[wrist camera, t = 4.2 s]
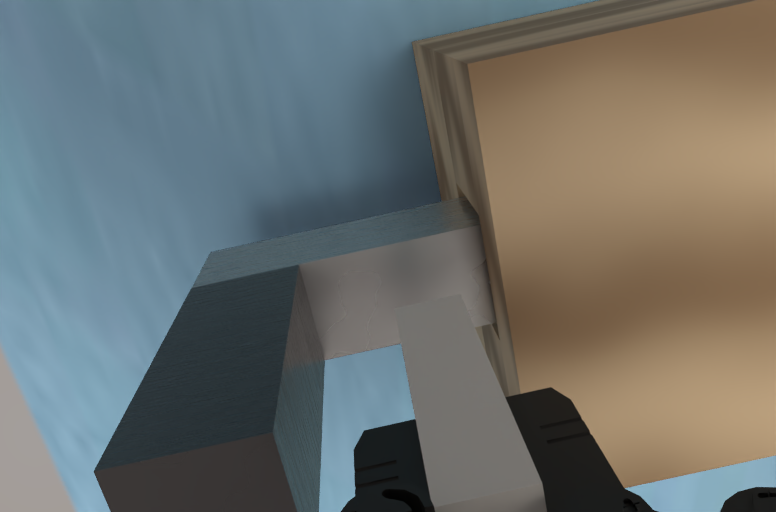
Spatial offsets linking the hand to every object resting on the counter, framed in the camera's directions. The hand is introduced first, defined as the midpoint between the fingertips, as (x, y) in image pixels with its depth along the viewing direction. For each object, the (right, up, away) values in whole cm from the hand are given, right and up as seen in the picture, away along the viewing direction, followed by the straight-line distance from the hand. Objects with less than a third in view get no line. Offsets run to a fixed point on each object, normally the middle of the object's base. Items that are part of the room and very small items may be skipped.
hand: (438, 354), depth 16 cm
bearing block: (+5, +6, +13) cm, 15 cm away
